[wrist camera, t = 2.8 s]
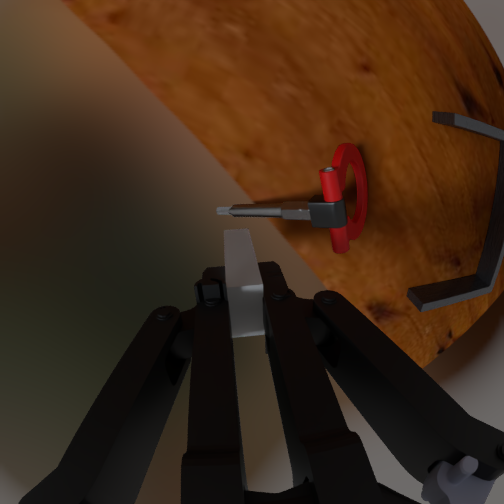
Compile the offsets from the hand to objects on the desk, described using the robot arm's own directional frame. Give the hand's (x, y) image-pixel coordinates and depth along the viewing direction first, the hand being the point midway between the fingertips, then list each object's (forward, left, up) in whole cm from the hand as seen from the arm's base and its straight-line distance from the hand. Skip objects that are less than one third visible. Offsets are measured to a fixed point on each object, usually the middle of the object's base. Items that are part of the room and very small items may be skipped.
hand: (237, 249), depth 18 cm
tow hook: (-3, +7, -7) cm, 10 cm away
